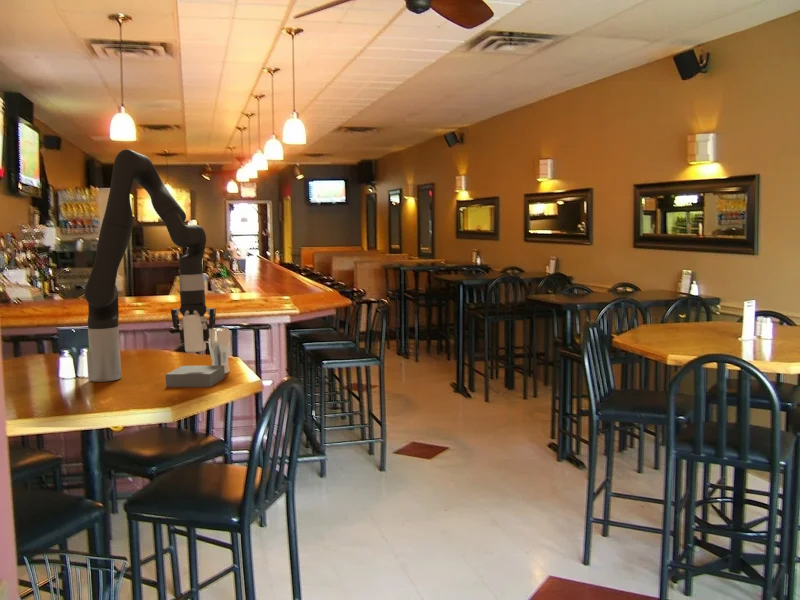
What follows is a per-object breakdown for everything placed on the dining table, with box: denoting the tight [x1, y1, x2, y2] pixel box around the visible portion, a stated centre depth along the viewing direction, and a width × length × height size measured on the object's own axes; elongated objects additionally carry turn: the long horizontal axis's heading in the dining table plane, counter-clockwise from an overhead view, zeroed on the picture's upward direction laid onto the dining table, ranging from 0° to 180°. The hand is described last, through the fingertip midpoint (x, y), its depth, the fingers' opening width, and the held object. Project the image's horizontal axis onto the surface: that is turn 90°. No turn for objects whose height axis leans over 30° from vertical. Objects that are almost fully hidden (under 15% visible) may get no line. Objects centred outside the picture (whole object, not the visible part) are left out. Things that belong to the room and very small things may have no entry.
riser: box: [165, 365, 226, 388], centre depth 225 cm, size 14×14×4 cm
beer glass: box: [208, 327, 231, 375], centre depth 239 cm, size 7×7×15 cm
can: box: [182, 314, 207, 354], centre depth 224 cm, size 6×6×12 cm
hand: (195, 340), depth 224 cm, fingers closed on can, 6 cm apart
